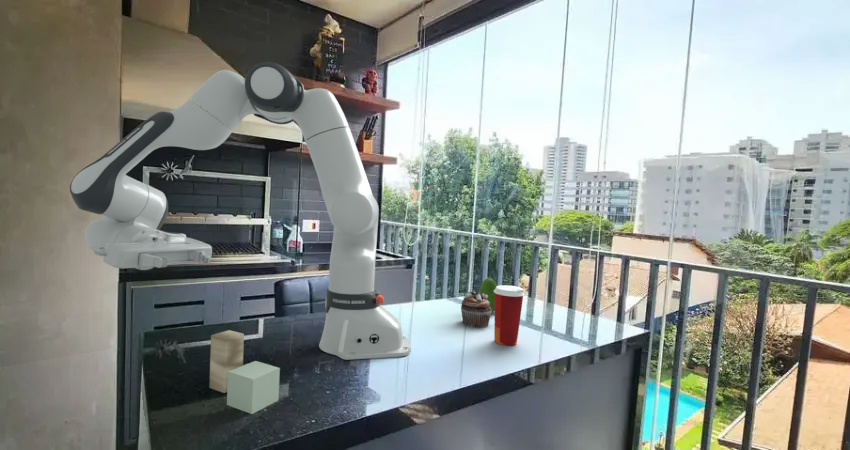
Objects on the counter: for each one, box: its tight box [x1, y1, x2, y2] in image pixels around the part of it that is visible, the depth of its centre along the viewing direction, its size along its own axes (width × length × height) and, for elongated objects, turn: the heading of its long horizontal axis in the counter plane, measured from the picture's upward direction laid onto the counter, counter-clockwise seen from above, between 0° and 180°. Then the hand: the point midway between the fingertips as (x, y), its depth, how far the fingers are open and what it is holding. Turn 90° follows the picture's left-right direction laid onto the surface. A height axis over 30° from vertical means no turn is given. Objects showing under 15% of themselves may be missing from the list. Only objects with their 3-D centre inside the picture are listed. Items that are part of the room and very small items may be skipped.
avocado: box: [477, 277, 498, 312], centre depth 150 cm, size 8×8×12 cm
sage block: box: [226, 360, 281, 415], centre depth 77 cm, size 6×6×6 cm
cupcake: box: [460, 290, 493, 329], centre depth 135 cm, size 10×10×10 cm
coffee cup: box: [493, 284, 525, 347], centre depth 119 cm, size 8×8×15 cm
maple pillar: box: [208, 329, 245, 394], centre depth 82 cm, size 4×4×10 cm
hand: (186, 261), depth 87 cm, fingers open, 8 cm apart
